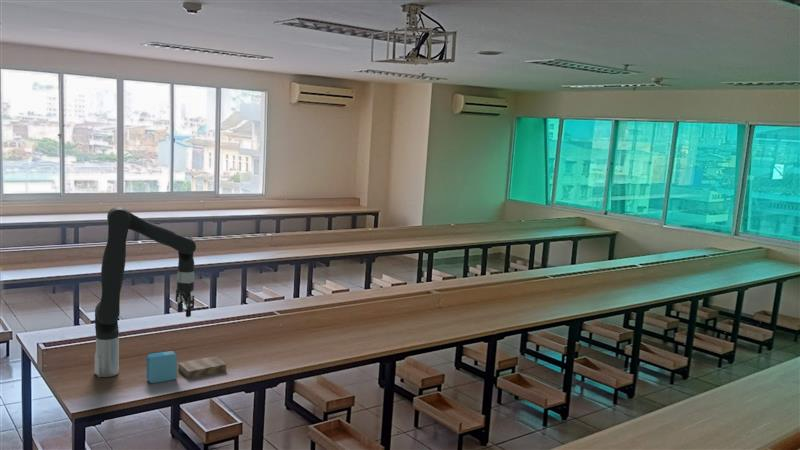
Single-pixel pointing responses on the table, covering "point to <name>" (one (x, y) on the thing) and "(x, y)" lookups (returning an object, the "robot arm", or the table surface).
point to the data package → (161, 366)
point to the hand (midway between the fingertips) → (184, 314)
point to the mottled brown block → (201, 367)
